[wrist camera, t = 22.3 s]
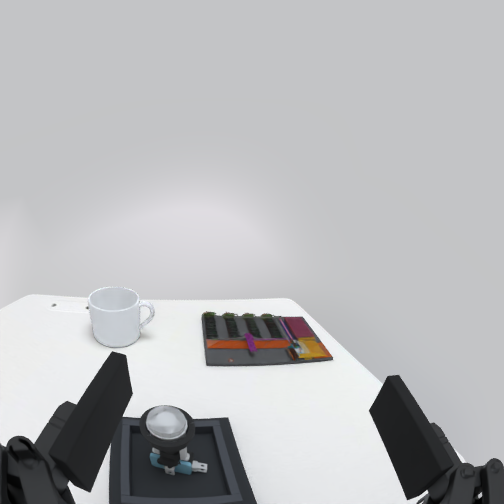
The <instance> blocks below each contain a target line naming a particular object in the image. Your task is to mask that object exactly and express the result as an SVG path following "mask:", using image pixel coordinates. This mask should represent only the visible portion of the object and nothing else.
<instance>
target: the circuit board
mask: <svg viewBox="0 0 504 504" xmlns="http://www.w3.org/2000/svg"><path fill="white" fill-rule="evenodd" d="M206 312H207V311H206ZM211 314H212V315H211ZM215 314H216V313H214V312H209V313H208V312H207V314H206V313H205V312H204V313H203V314H202V325H203V335H204V345H205V355H206V364H207V366H257V365H280V364H295V363H308V362H318V361H328V360H333V357H332V356H331V354H330V353H329V352H328V350H327V349H326V348H325V346H324V345H323V343H322V342H321V341H320V339H319V338H318V337H317V335H316V334H315V333H314V331H313V330H312V329H311V327H310V326H309V325H308V323H307V322H306V321H305V319H304V318H303V317H281V316H274V317H272V316H273V315H271V314H267V313H266V314H265V313H264V314H262V315H261V317H257V316H255V317H254V316H253V314H248V313H247V314H243V316H238V315H237V314H233V313H231V315H230V313H227V312H226V313H224V314H223V315H222V316H217V315H215ZM234 315H237V316H234ZM254 315H255V314H254ZM268 315H269V316H268Z"/></svg>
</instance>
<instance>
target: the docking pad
mask: <svg viewBox="0 0 504 504" xmlns="http://www.w3.org/2000/svg"><path fill="white" fill-rule="evenodd" d="M139 421H140V418H131V417H122V418H121V420H120V423H119V425H118V427H117V429H116V432H115V434H114V436H113V439H112V441H111V452H110V473H109V504H257V502H256V500H255V497H254V494H253V492H252V489H251V486H250V483H249V481H248V478H247V475H246V472H245V469H244V466H243V463H242V460H241V457H240V454H239V451H238V448H237V445H236V442H235V439H234V435H233V432H232V429H231V426H230V422H229V419H228V417H227V418H211V419H193V421H194V423H195V434H194V436H193V438H192V440H191V441H190V442H189V444H188V446H187V451H190V452H193V453H194V459H193V461H198V463H204V464H207V472H206V473H205V472H200V471H197V472H195V471H192V472H191V474H190V475H189V474H184V473H179V472H175V471H174V472H175V475H171V474H167V473H166V472H165V469H163V468H160V467H155V466H153V465H152V464H151V460H150V454H151V451H152V448H153V447H152V446H151V445H150V444H149V442H148V441H147V440H146V439H145V438H144V437H143V435H142V434H141V431H140V427H139ZM147 432H148V433H149V434H150V431H149V430H148V429H147ZM187 433H188V429H187V430H186V434H187ZM201 466H202V467H204V465H201ZM201 470H204V469H201ZM169 473H172V472H169Z"/></svg>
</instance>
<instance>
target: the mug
mask: <svg viewBox="0 0 504 504" xmlns="http://www.w3.org/2000/svg"><path fill="white" fill-rule="evenodd" d="M88 306H89V312H90V318H91V323H92V328H93V332H94V337H95V338H96V340H97V341H98V342H99V343H101V344H103V345H105V346H108V347H116V348H117V347H125V346H129V345H131V344H133V343H134V342H135V341H136V340H138V338H139V336H140V329H142V328H143V327H144V326H146V325H147V324H148V323H149V322H150V321H151V320H152V319H153V317H154V312H155V311H154V307H153V305H152V304H151V303H149V302H146V301H144V302H141V303H140V297H139V295H138V294H137V293H136V292H135V291H133V290H130V289H128V288H123V287H105V288H101V289H98V290H96V291H94V292H92V293H91V294H90V296H89V297H88ZM142 306H146V307H148V308H149V309H150V312H151V314H150V316H149V318H148V319H146V320H145V321H144V322H143V323H142V324H140V307H142Z"/></svg>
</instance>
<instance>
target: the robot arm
mask: <svg viewBox="0 0 504 504" xmlns="http://www.w3.org/2000/svg"><path fill="white" fill-rule="evenodd" d="M132 394H133V392H132V387H131V382H130V376H129V371H128V365H127V358H126V355H124V354H120V353H116V352H113V351H112V352H111V354H110V355H109V357H108V358H107V360H106V361H105V362H104V364H103V365H102V367H101V368H100V370H99V371H98V373H97V374H96V376H95V377H94V379H93V380H92V382H91V383H90V385H89V386H88V388H87V389H86V391H85V393H84V394H83V396H82V397H81V399H80V400H79V402H78V404H77V405H76V404H73V403H71V402H69V401H66V402H65V403H63V404H62V405H60V406H59V407H58V408H57V409H56V411H55V412H54V414H53V417H51V418H50V420H49V423H47V425H46V426H45V428H44V429H43V431H42V432H41V434H40V436H39V437H38V439H37V440H36V442H35V444H33V443H32V442H31V441H30V440H29V439H28V438H26V437H24V436H15V437H13V438H11V439H10V440H9V441H8V443H7V446H6V447H4V446H2V445H1V444H0V504H75V501H74V499H73V497H72V494H71V492H70V490H69V487H68V486H67V484H68V482H69V480H70V481H71V482H72V483H73V485H75V486H77V487H79V488H81V489H83V490H85V491H88V492H91V490H92V487H93V484H94V482H95V479H96V477H97V474H98V472H99V469H100V467H101V465H102V462H103V460H104V457H105V455H106V453H107V450H108V448H109V446H110V443H111V441H112V439H113V436H114V434H115V432H116V429H117V427H118V425H119V423H120V420H121V418H122V416H123V414H124V412H125V409H126V407H127V405H128V403H129V401H130V399H131V396H132ZM369 412H370V414H371V416H372V418H373V421H374V423H375V425H376V427H377V429H378V432H379V434H380V436H381V439H382V441H383V443H384V445H385V448H386V450H387V452H388V455H389V457H390V459H391V462H392V464H393V466H394V469H395V471H396V474H397V476H398V478H399V481H400V483H401V486H402V488H403V491H404V493H405V496H406V498H407V500H409V499H412V498H415V497H417V496H420V495H421V494H422V493H423V492H425V491H426V490H428V492H429V493H428V494H426V495H425V496H424V497H423V498H421V499H420V500H419V501H418V502H417V504H419V503H421V502H422V501H423V500H424V502H423V503H422V504H504V466H503V464H502V462H501V461H500V460H498V459H496V458H493V459H491V460H490V461H488V462H487V464H485V465H484V466H478V467H474V466H473V465H471V464H469V463H462V462H461V461H460V459H459V457H458V456H457V454H456V452H455V451H454V449H453V447H452V446H451V444H450V443H449V442H448V439H447V437H445V434H444V433H443V431H442V429H441V428H440V427H439V426H437V425H436V424H435V423H429V421H428V419H427V418H426V416H425V415H424V413H423V411H422V410H421V408H420V407H419V405H418V404H417V402H416V400H415V399H414V397H413V396H412V394H411V393H410V391H409V390H408V388H407V387H406V385H405V384H404V382H403V381H402V379H401V378H400V376H399V375H395V376H394V375H393V376H388V377H387V378H386V380H385V382H384V384H383V386H382V388H381V390H380V392H379V394H378V396H377V397H376V399H375V401H374V403H373V405H372V406H371V408H370V410H369ZM481 492H482V497H481V498H478V494H480V493H481Z"/></svg>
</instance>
